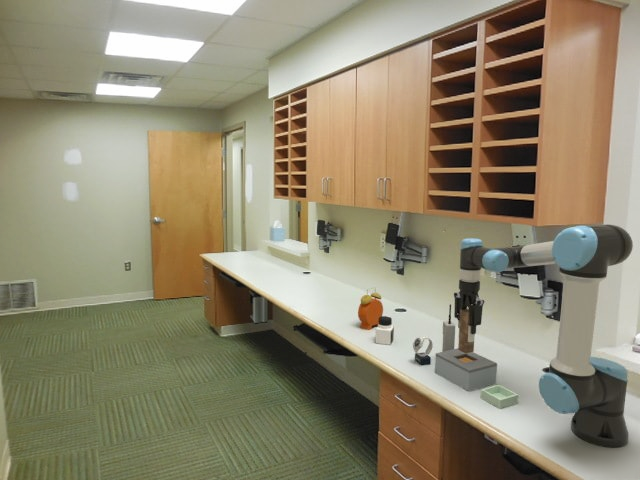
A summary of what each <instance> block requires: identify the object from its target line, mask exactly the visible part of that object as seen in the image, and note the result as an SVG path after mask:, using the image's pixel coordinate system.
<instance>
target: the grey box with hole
mask: <svg viewBox="0 0 640 480" xmlns="http://www.w3.org/2000/svg"><path fill="white" fill-rule="evenodd" d="M464 357H466V358H468V359H470V360H472V361H471V362H467V363H465V362H463V361H461V360H459V359H460V358H464ZM434 358H435V359H434V360H435V362H434V373H435V374H436V375H439V376H440V377H442V378H443V379H445V380H447V381H449V382H451V383H453V384H454V385H457V386H458V387H460V388H462V389H463V390H466V391H467V392H471V391H474V390H475V391H476V390H477V389H483V388H484V387H485V388H486V387H490V386H492V385H495V384H496V385H497V375H498V374H497V372H498V371H497V369H498V362H496V361H493V360H491V359H489V358H487V357H484V356H482V355H480V354H477V353H475V352H470V353H464V352H462V351H459V350H458V347H457V348H454V349H453V350H448V351H444V352H442V351H439V352H436V353H435V357H434Z"/></svg>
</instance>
